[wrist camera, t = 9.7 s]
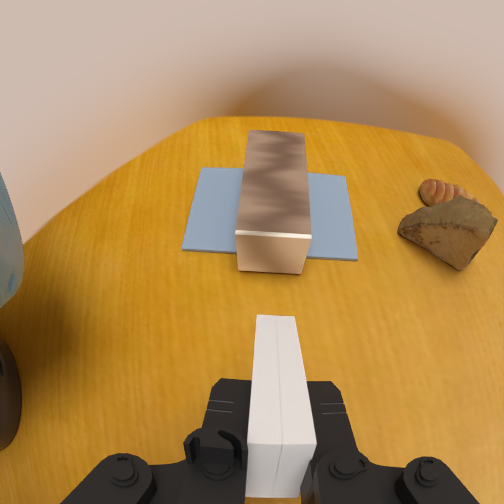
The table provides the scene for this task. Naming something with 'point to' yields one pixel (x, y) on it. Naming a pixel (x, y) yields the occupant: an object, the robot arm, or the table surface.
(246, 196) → the walnut block
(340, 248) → the mat
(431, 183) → the pastry
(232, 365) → the table surface
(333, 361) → the table surface
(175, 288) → the table surface
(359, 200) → the table surface
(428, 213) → the rock
